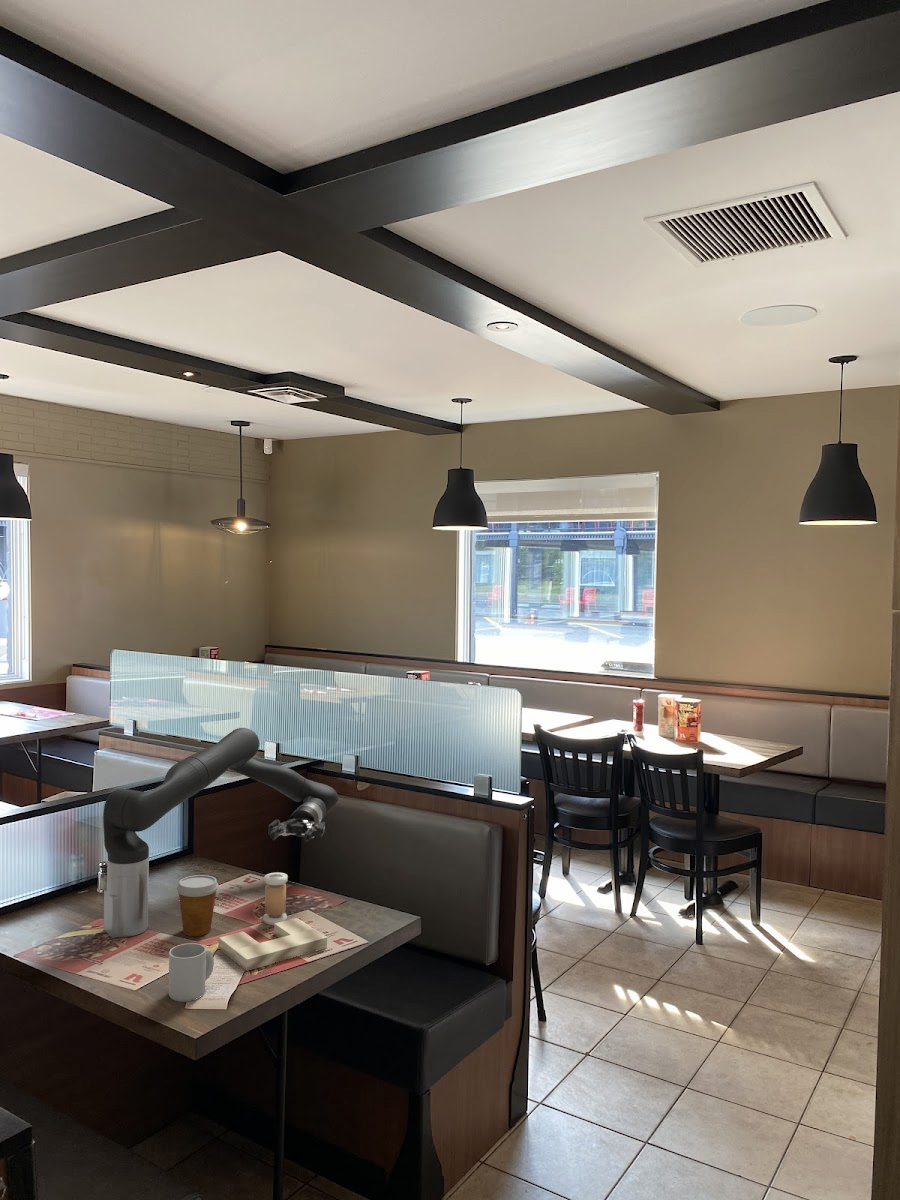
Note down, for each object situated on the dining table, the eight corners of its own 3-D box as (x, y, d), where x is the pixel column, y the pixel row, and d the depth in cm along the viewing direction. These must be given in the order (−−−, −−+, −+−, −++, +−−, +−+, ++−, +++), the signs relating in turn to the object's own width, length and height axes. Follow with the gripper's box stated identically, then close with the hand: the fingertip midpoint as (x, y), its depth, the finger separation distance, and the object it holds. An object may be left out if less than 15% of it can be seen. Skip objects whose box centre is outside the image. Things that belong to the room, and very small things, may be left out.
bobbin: (270, 926, 218) (271, 882, 218) (259, 919, 223) (260, 875, 222) (290, 921, 222) (291, 877, 221) (279, 914, 226) (280, 871, 226)
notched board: (246, 970, 195) (246, 959, 195) (218, 948, 206) (218, 937, 205) (326, 948, 207) (327, 937, 207) (296, 927, 218) (296, 917, 218)
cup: (161, 994, 183) (161, 951, 183) (201, 977, 191) (202, 936, 191) (183, 1006, 179) (183, 961, 178) (223, 988, 187) (224, 945, 186)
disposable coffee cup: (226, 927, 217) (226, 878, 217) (199, 942, 209) (200, 891, 208) (194, 920, 221) (195, 871, 221) (167, 934, 213) (168, 883, 212)
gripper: (281, 804, 249) (262, 821, 233) (331, 806, 248) (316, 824, 232) (280, 831, 250) (262, 849, 234) (331, 833, 248) (316, 853, 232)
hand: (289, 837), depth 233 cm, fingers open, 8 cm apart
